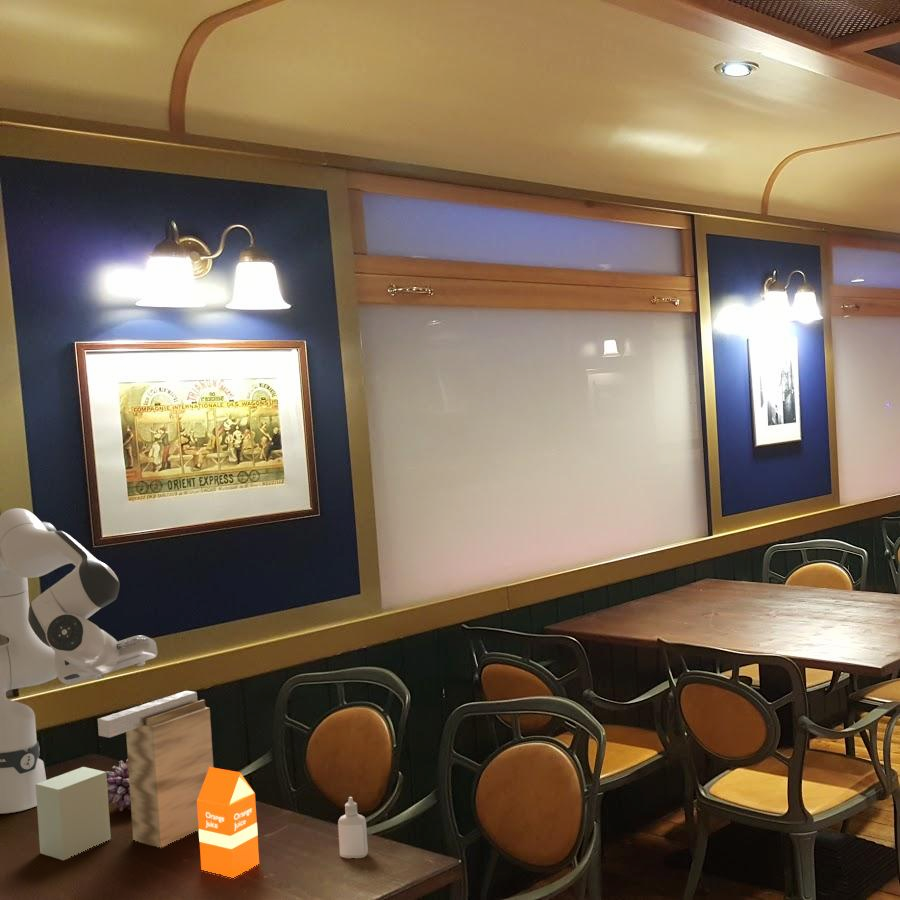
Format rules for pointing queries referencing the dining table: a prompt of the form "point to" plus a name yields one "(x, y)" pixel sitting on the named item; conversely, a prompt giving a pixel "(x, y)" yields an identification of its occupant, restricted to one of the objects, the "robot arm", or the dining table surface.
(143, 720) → the steel bar
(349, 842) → the eye dropper bottle
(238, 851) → the orange juice
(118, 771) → the flower
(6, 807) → the robot arm
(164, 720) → the oak stand
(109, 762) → the dining table surface
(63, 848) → the sage block
